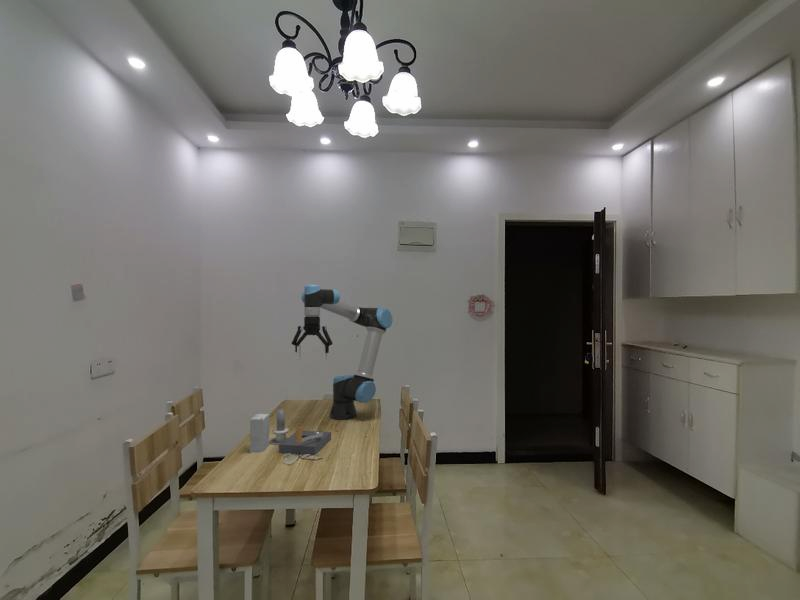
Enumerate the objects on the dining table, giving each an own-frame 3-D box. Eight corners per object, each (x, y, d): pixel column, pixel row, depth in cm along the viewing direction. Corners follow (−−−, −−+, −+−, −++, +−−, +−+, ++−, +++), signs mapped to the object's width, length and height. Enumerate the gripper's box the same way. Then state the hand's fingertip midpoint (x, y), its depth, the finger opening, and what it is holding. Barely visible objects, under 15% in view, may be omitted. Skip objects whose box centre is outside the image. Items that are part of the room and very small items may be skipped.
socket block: (298, 438, 188) (298, 426, 188) (330, 440, 185) (331, 427, 185) (279, 454, 168) (279, 440, 168) (314, 456, 166) (314, 442, 166)
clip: (291, 440, 168) (291, 425, 168) (318, 432, 178) (318, 419, 178) (298, 442, 165) (298, 428, 165) (325, 435, 175) (325, 421, 175)
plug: (270, 442, 180) (270, 411, 181) (277, 438, 187) (277, 408, 187) (284, 443, 179) (284, 412, 180) (291, 438, 186) (290, 408, 186)
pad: (276, 438, 189) (276, 436, 189) (295, 439, 187) (295, 437, 187) (265, 445, 179) (265, 443, 179) (286, 446, 177) (286, 445, 177)
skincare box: (256, 446, 177) (256, 413, 178) (269, 446, 177) (270, 413, 177) (249, 453, 169) (249, 418, 169) (263, 453, 169) (263, 418, 169)
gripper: (284, 316, 193) (284, 359, 192) (334, 316, 189) (333, 361, 188) (291, 315, 200) (291, 358, 200) (339, 316, 196) (338, 359, 196)
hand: (311, 359), depth 194 cm, fingers open, 13 cm apart
